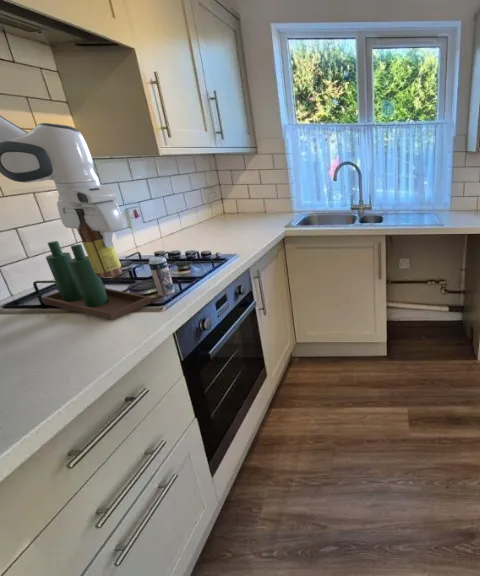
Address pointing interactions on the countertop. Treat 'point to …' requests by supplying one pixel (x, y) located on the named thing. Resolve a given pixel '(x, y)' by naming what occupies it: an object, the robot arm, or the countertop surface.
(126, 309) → the tray
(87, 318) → the countertop surface
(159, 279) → the beer can
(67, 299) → the green bottle
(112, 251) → the sauce bottle
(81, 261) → the green bottle
